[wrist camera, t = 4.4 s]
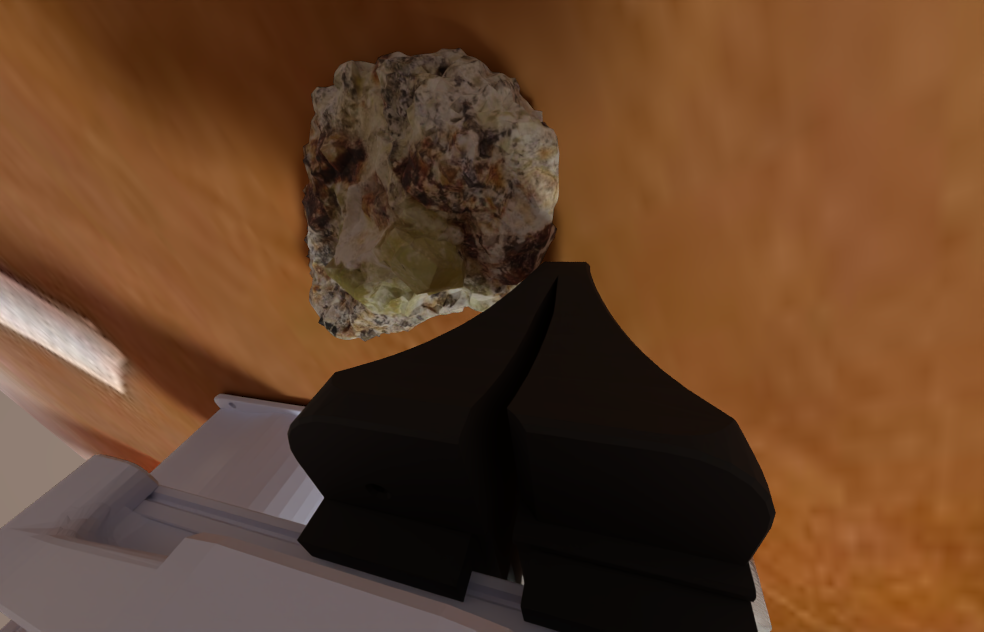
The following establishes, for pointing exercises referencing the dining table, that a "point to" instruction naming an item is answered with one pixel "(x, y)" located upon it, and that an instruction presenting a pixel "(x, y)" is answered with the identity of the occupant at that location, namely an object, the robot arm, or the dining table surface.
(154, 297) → the dining table surface
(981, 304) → the dining table surface
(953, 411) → the dining table surface
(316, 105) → the mineral rock
